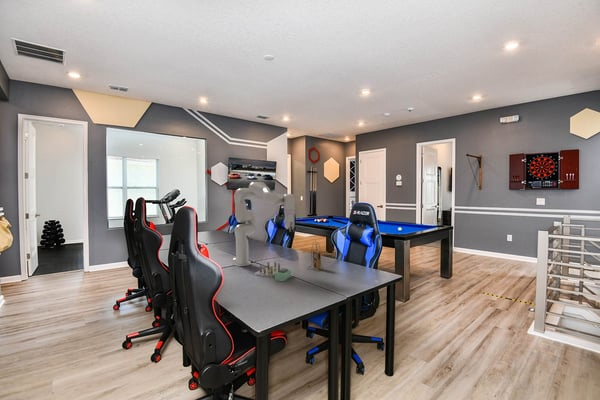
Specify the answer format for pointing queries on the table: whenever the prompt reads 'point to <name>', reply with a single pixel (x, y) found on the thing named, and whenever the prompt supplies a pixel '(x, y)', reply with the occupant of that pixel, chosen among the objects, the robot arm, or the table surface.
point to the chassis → (268, 270)
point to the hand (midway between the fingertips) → (290, 236)
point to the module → (282, 274)
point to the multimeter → (316, 258)
